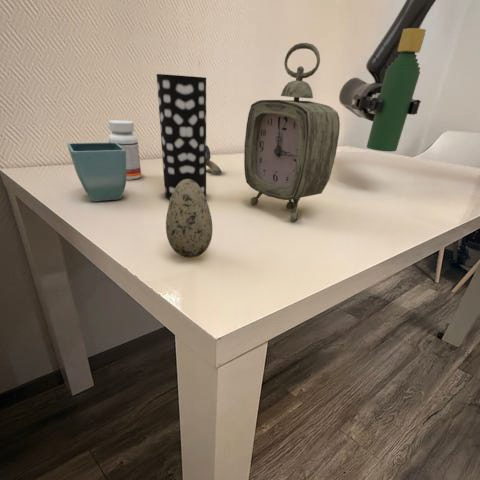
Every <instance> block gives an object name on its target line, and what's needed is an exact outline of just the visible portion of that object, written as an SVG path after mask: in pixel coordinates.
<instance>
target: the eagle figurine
mask: <svg viewBox="0 0 480 480" xmlns="http://www.w3.org/2000/svg"><path fill="white" fill-rule="evenodd" d="M206 167H208V168H209V169H210V172H211V173H212V174H213V175H217V176H221V175H222V173H223V171H222V169H221V168H220V167H219V166H218V165H217V164H216V163H215V162H214V161H213V160H211V150H210V148H209V146H208V145H207V144H206Z"/></svg>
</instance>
